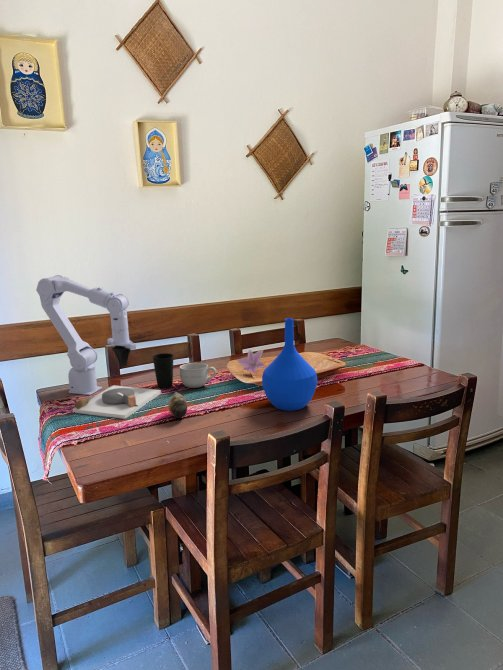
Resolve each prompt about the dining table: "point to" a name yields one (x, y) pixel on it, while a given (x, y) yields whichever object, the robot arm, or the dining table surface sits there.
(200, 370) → the teacup
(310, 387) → the vase
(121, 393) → the grey handled disc
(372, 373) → the dining table surface
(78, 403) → the screwdriver
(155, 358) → the cup
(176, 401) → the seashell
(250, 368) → the lily
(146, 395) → the board
